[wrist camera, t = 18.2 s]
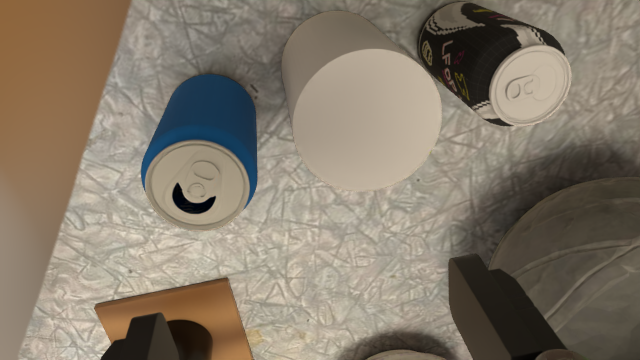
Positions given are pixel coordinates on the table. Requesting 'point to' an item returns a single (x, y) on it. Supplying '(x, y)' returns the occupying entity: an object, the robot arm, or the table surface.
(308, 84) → the cup
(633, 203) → the bowl
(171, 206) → the beverage can
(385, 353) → the paper bowls
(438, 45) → the beverage can
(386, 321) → the table surface
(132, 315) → the cork mat
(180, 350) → the black cylinder
